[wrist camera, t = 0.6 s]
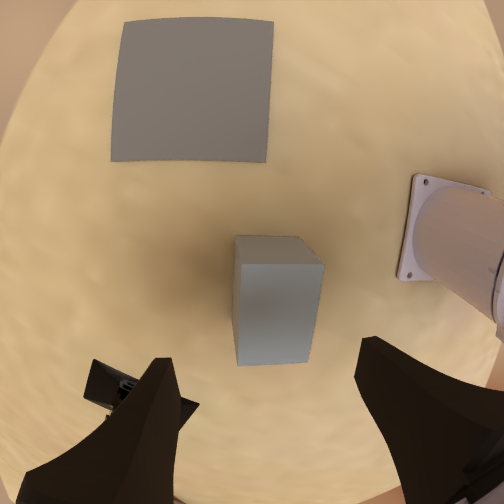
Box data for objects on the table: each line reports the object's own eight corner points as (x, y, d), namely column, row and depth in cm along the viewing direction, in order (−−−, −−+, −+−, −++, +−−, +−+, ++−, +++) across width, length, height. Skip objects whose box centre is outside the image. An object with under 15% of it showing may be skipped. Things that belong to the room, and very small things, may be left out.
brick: (298, 236, 19) (324, 264, 14) (288, 318, 21) (307, 362, 16) (234, 234, 19) (241, 263, 14) (232, 319, 20) (237, 365, 16)
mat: (272, 25, 14) (273, 21, 14) (264, 162, 17) (265, 162, 17) (126, 25, 13) (124, 22, 13) (114, 161, 16) (110, 161, 15)
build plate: (220, 398, 24) (223, 440, 19) (187, 439, 25) (187, 476, 21) (82, 341, 20) (62, 379, 16) (69, 392, 22) (54, 427, 17)
